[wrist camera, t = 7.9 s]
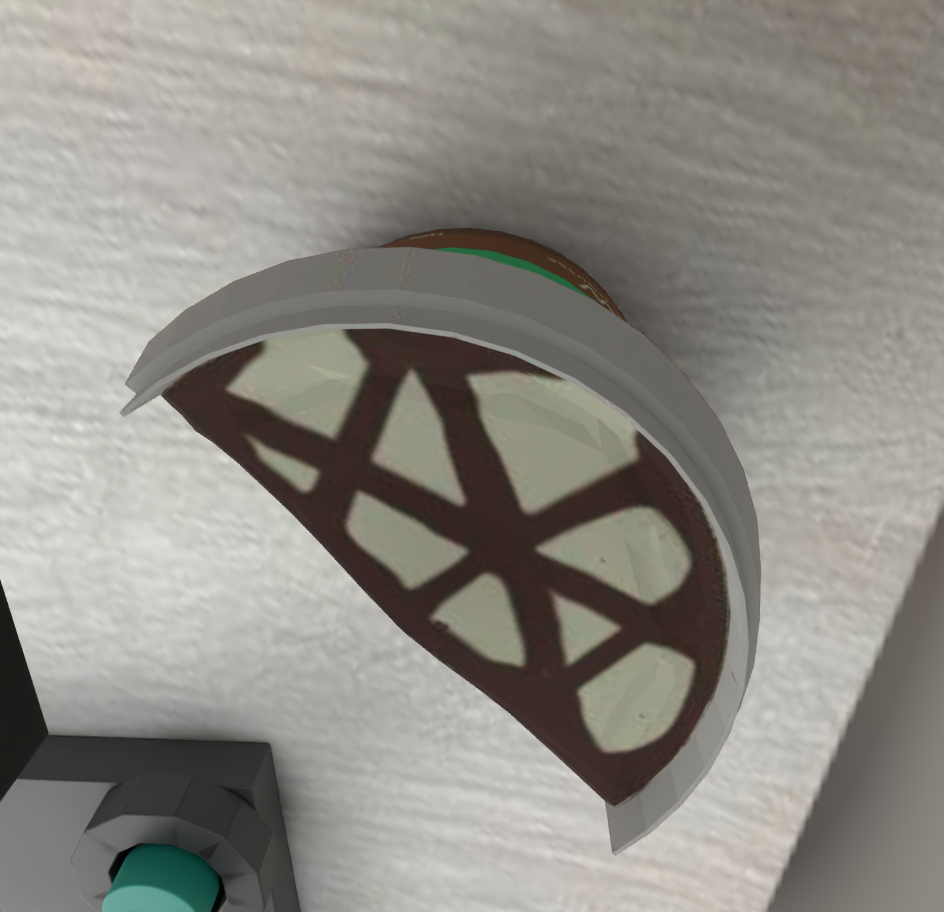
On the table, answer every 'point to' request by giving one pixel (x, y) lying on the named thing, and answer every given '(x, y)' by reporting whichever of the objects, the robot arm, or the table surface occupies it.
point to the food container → (498, 487)
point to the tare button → (162, 882)
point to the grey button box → (142, 821)
